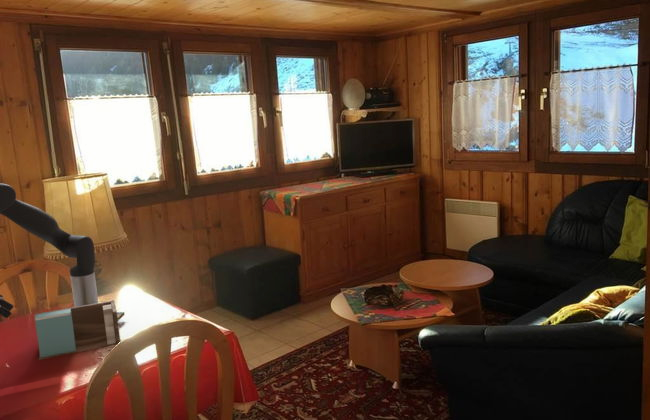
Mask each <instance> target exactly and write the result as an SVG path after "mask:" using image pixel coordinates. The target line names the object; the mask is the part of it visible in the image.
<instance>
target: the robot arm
mask: <svg viewBox="0 0 650 420" xmlns="http://www.w3.org/2000/svg"><path fill="white" fill-rule="evenodd" d="M0 215H2V216H4V217H6V218H7V219H9V220H10V221H12V222H13V223H15V225H17V226H19V227H20V228H22V229H24V230H25V231H27V232H28V233H30V234H31V235H33V236H35V237H38V238H39V239H41V240H43V241H44V242H46V243H48V244H49V245H51V246H53V247H54V248H56V249H57V250H58V251H59V252H61V253H62V255H64V256H66V257H69V258H74V259H76V265H74V266H71V267H70V269H69V278H70V283H71V290H72V291H71V292H72V299H73V304H74V305H73V307H77V306H83V305H89V304H95V303H99V298H98V297H99V296H98V291H97V282H96V274H95V265H96V256H95V255H96V254H95V244H94V241H93V239H92V238H91V237H90V236H87V235H78V234H77V235H76V234H72V233H69V232H67V231H65V230H63V229H61V228H60V226H59V223H58V222H57V220H56V218H54V217H53V216H51V214H49V213H47V212H46V211H44V210H42V209H41V208H39V207H36V206H34V205H32V204H29V203H27V202H24V201H22V200H19V199H17V192H16V190H15V189H14V187H12V186H11V185H9V184H7V183H2V182H0ZM12 309H14V304H12V303H10V302H8V301H7V300H5V298H4V296H3V294H1V293H0V316H2V317H3V318H5V319H8V318H10V317H11V315H12Z"/></svg>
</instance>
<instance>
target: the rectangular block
mask: <svg viewBox="0 0 650 420" xmlns="http://www.w3.org/2000/svg"><path fill="white" fill-rule="evenodd" d="M65 309H66V308H65ZM59 310H60V309H59ZM34 323H35V324H34V325H35V331H36V338H37V344H38V351H39V353H40V358H42V357H47V356H52V355H57V354H62V353H67V352H72V351H76V344H75V337H74V329H73V322H72V315H71V309H66V310H60V311H55V312H49V313H43V314H37V315H36V314H35V315H34Z"/></svg>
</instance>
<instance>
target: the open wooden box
mask: <svg viewBox="0 0 650 420" xmlns="http://www.w3.org/2000/svg"><path fill="white" fill-rule="evenodd" d="M66 309H71V315H72V322H73V329H74V337H75V344H76V351H72V352H67V353H62V354H57V355H52V356H47V357H42V358H40V352H39V355H38V360H39V361H40V360H44V359H46V360H47V359H50V358H51V359H52V358H55V357H60V356H65V355H69V354H70V355H71V354H74V353H80V352H85V351H90V350H91V351H92V350H95V349H99V348H106V347H110V346H116V345H119V344H118V343H119V342H120V343H121V339H120V338H121V336H120V330H119V321H118V319H117V312H118V310H117V307H116V303H115V300H114V299H113V300H108V301H102V302H98V303H95V304H89V305H83V306H77V307H74V306H72V307H67V308H61V309H60V308H59V309H55V310H49V311H43V312H37V313H35V315H37V314H43V313H49V312H55V311H60V310H66Z"/></svg>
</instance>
